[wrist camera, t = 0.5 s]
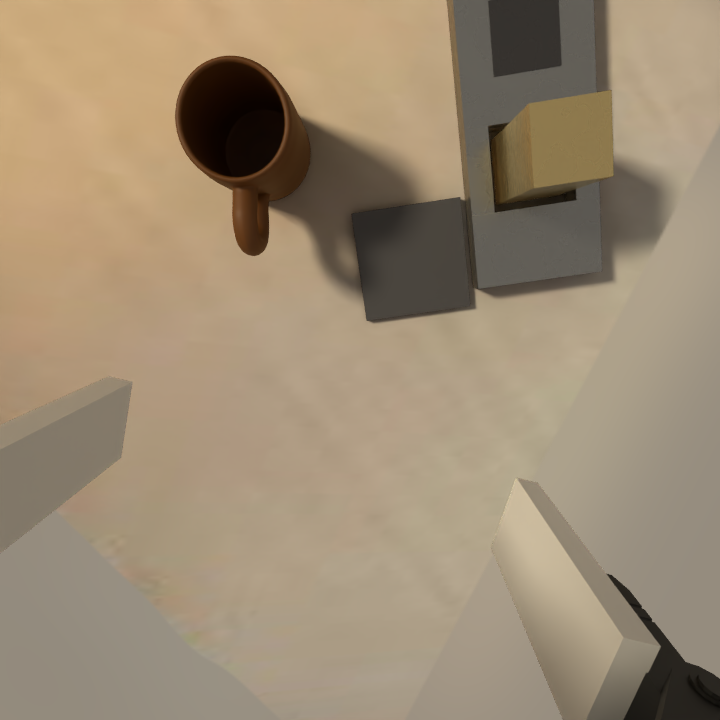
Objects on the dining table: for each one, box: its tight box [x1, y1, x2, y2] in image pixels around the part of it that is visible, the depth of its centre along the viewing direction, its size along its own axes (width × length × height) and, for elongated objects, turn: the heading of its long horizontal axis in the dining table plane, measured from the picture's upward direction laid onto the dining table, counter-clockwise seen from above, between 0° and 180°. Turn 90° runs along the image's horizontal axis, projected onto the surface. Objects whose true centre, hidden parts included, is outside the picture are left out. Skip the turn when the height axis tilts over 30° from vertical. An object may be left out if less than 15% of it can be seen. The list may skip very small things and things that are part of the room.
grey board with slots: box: [447, 0, 602, 289], centre depth 35 cm, size 26×10×2 cm, turn 8°
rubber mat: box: [352, 197, 470, 321], centre depth 39 cm, size 9×9×1 cm
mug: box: [175, 56, 310, 256], centre depth 33 cm, size 12×8×9 cm, turn 2°
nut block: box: [491, 90, 614, 205], centre depth 33 cm, size 5×5×9 cm
